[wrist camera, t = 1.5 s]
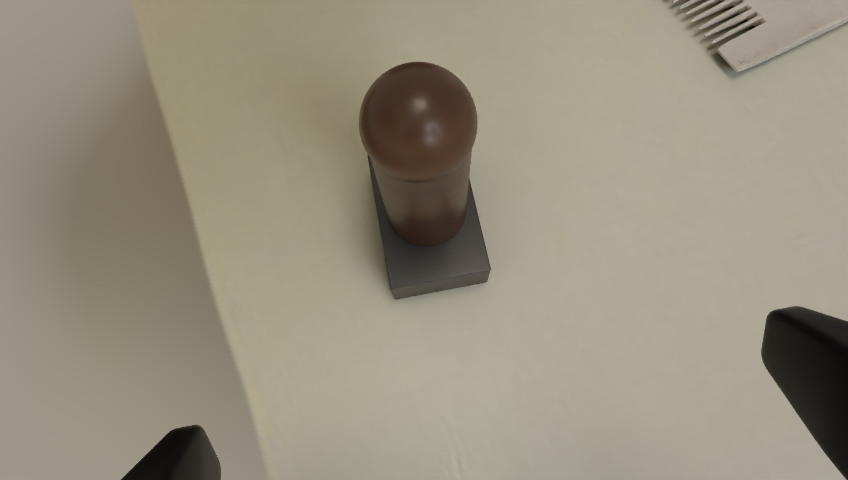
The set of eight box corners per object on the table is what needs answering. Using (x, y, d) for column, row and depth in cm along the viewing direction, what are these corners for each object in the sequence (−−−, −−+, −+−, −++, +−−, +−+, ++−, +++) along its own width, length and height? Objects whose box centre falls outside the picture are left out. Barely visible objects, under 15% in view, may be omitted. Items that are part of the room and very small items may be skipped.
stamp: (487, 282, 22) (519, 178, 13) (395, 299, 22) (354, 209, 13) (458, 158, 24) (466, -15, 15) (373, 174, 24) (324, 11, 14)
